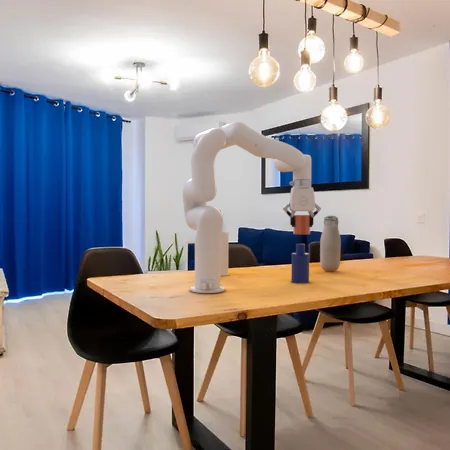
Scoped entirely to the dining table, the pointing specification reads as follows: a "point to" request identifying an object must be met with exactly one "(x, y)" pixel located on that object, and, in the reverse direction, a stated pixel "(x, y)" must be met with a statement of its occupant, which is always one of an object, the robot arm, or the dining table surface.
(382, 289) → the dining table surface
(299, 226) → the cup
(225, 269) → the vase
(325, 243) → the grey bottle
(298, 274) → the water bottle
